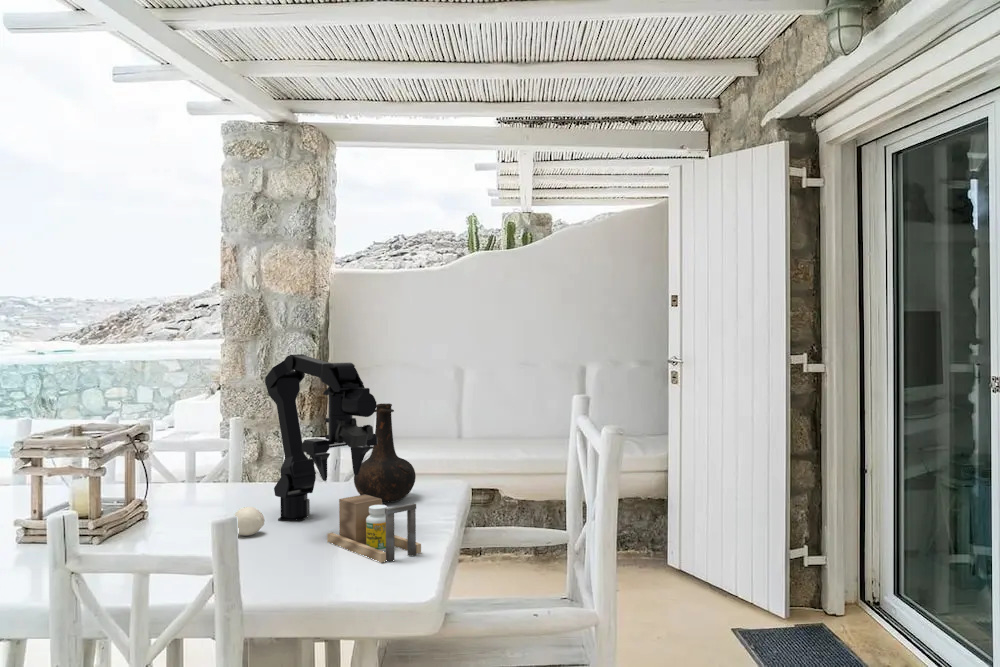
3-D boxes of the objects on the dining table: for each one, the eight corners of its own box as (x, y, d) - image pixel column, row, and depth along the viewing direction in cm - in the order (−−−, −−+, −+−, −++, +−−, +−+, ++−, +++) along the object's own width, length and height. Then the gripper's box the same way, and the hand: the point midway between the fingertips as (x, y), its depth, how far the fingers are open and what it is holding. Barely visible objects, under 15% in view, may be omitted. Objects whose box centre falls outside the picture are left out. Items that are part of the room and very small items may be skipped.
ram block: (339, 542, 168) (339, 499, 168) (365, 536, 172) (365, 494, 172) (356, 548, 162) (355, 504, 162) (382, 542, 167) (381, 499, 167)
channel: (327, 542, 168) (327, 494, 168) (365, 533, 175) (365, 487, 175) (383, 564, 152) (382, 511, 152) (423, 553, 159) (422, 503, 159)
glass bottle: (388, 510, 199) (387, 407, 199) (340, 502, 208) (339, 405, 208) (428, 497, 214) (427, 402, 214) (381, 491, 223) (381, 400, 223)
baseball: (262, 537, 172) (262, 509, 172) (230, 539, 171) (230, 511, 171) (266, 530, 179) (266, 503, 179) (234, 532, 177) (234, 504, 177)
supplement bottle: (394, 547, 164) (394, 504, 164) (383, 554, 159) (383, 510, 159) (373, 545, 166) (372, 503, 166) (361, 551, 160) (361, 508, 160)
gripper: (327, 420, 165) (327, 488, 165) (391, 413, 179) (391, 476, 179) (300, 416, 173) (300, 482, 173) (363, 410, 187) (363, 470, 187)
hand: (340, 477), depth 178 cm, fingers open, 9 cm apart
